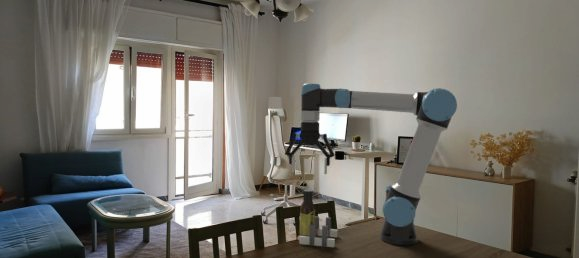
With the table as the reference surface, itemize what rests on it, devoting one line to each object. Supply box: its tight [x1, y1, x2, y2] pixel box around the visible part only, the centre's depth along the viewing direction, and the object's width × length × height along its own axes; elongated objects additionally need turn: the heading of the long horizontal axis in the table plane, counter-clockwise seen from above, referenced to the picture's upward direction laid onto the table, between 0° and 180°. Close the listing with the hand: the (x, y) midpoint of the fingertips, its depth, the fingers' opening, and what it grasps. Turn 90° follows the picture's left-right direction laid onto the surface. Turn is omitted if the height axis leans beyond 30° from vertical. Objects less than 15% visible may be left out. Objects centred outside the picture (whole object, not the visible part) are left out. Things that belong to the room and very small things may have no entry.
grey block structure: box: [298, 215, 338, 248], centre depth 163 cm, size 14×13×8 cm
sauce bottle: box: [299, 189, 316, 237], centre depth 164 cm, size 7×6×20 cm
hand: (309, 173), depth 163 cm, fingers open, 13 cm apart
